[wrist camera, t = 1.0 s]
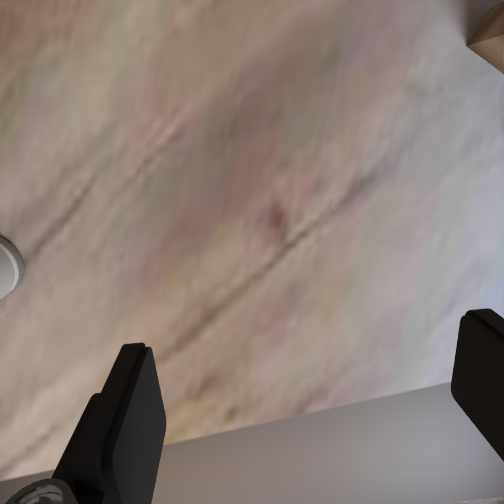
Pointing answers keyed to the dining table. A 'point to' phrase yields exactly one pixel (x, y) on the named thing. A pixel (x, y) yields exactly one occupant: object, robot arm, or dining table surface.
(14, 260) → the travel mug
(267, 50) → the dining table surface
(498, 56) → the scraper
